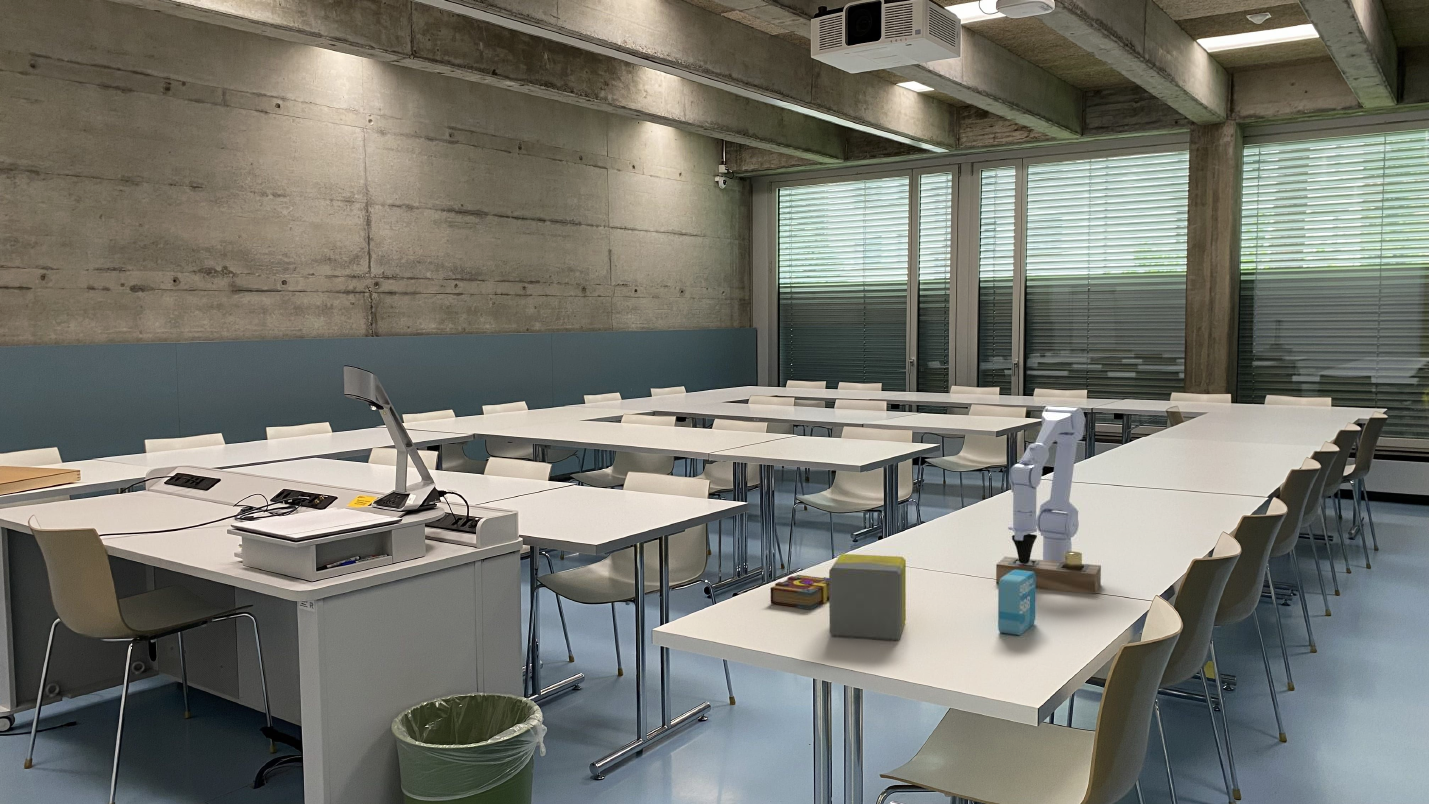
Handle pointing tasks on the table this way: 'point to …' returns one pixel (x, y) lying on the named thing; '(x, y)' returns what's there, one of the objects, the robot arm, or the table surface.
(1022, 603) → the data package
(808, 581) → the decorative book
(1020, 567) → the wooden block
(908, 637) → the table surface
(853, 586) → the yellow-topped grey cube
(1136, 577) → the table surface
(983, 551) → the table surface
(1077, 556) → the brass peg
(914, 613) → the table surface
